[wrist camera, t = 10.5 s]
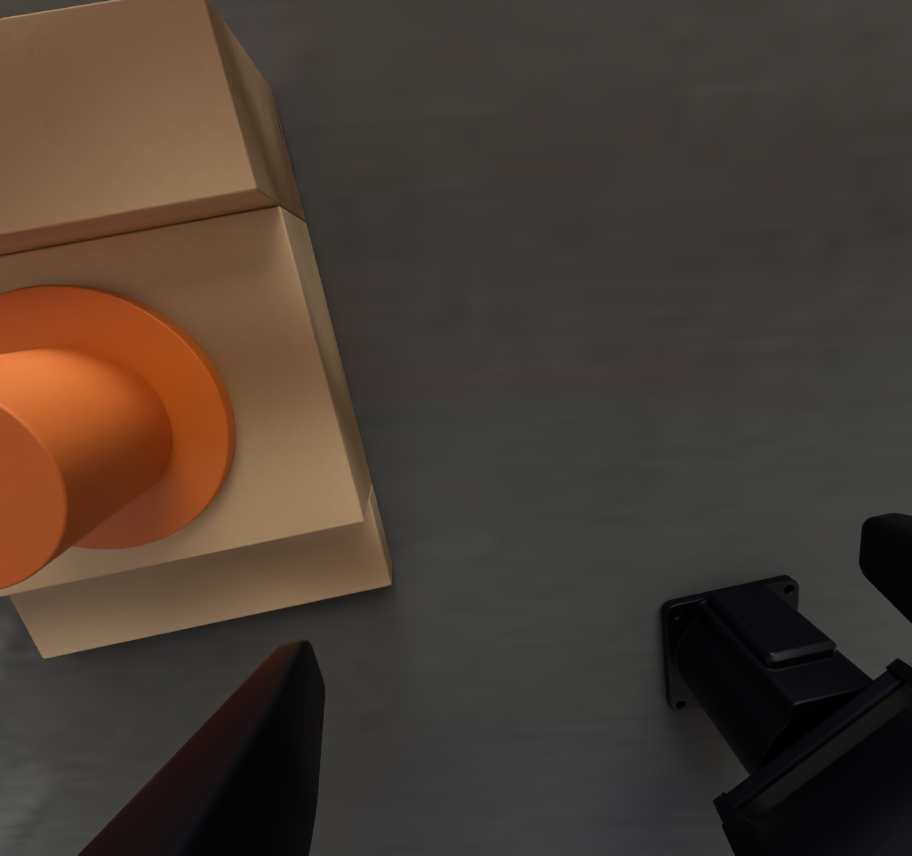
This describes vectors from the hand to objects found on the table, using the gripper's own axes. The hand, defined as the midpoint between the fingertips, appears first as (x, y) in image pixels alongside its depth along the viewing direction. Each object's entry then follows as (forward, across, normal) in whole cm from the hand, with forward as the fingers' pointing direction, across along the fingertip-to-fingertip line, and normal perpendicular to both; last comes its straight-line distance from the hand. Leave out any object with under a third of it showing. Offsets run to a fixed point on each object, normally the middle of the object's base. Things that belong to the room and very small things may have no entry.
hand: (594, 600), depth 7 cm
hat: (+8, +12, -3) cm, 15 cm away
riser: (+12, +12, -3) cm, 17 cm away
